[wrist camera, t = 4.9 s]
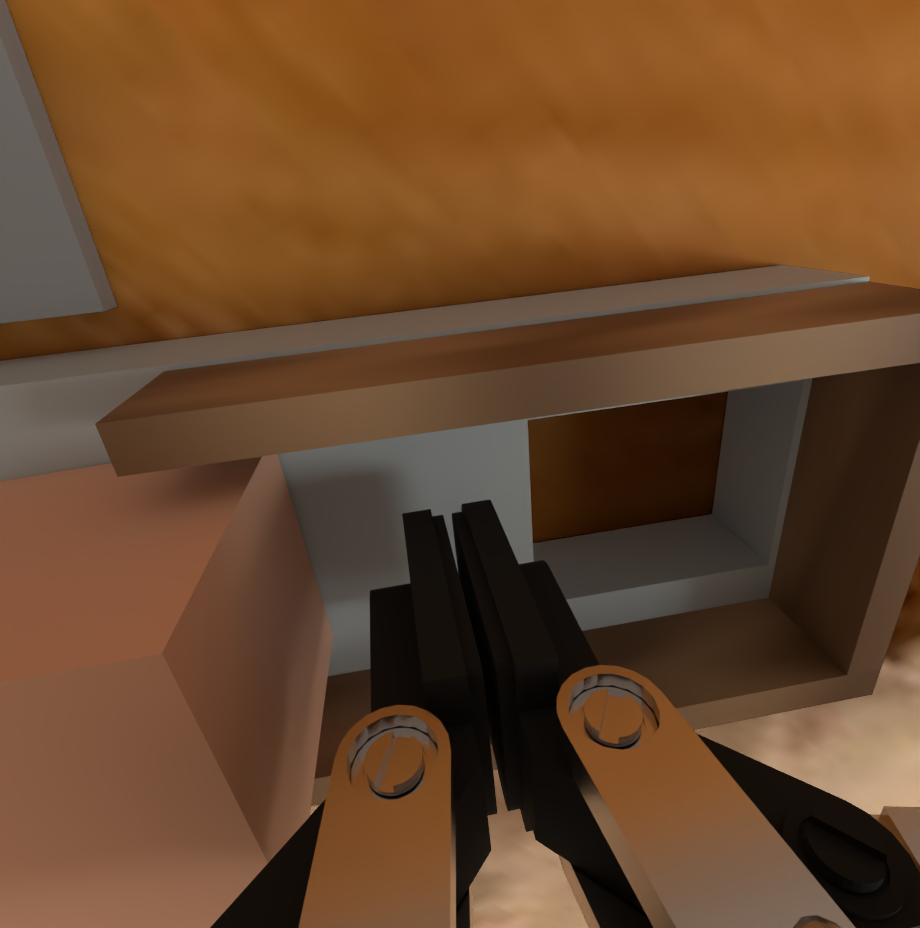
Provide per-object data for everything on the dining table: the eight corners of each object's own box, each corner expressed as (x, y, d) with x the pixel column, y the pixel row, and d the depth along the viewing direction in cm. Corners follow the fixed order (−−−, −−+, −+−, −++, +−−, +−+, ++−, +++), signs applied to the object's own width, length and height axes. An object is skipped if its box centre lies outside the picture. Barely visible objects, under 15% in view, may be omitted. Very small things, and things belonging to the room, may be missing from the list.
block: (272, 436, 10) (162, 652, 5) (333, 634, 12) (296, 918, 7) (-1, 481, 10) (-391, 753, 5) (111, 675, 12) (-81, 998, 7)
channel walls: (868, 282, 11) (1006, 302, 8) (791, 616, 14) (871, 694, 12) (163, 370, 9) (94, 423, 7) (281, 709, 13) (261, 815, 11)
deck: (783, 264, 13) (870, 276, 11) (735, 564, 17) (790, 618, 14) (-226, 388, 11) (-382, 434, 9) (-17, 693, 15) (-87, 779, 13)
